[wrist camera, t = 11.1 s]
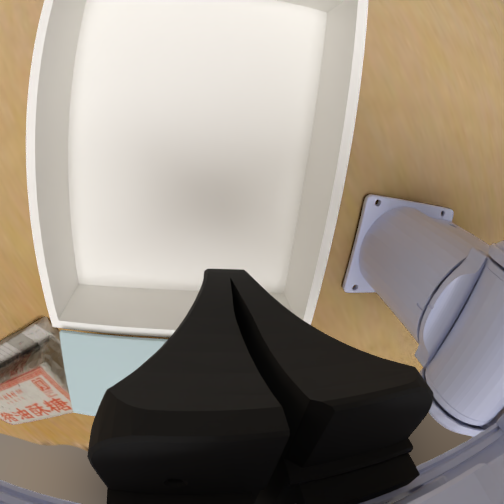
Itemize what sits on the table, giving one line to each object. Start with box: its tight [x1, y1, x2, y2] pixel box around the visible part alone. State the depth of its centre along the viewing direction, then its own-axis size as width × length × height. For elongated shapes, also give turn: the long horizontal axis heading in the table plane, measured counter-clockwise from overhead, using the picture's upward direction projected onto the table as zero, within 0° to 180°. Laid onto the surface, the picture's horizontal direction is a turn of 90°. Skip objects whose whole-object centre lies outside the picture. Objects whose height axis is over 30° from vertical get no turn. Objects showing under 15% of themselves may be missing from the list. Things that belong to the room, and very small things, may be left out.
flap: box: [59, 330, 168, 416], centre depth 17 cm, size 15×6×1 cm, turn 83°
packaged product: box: [0, 317, 73, 425], centre depth 22 cm, size 18×5×10 cm
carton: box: [26, 0, 368, 337], centre depth 15 cm, size 16×21×5 cm
